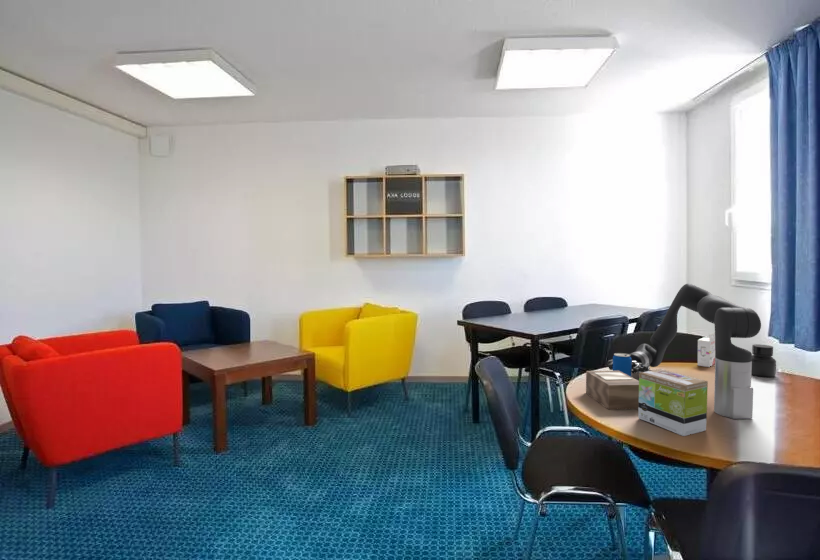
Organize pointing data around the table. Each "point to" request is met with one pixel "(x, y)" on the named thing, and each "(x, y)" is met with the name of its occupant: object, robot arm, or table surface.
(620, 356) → the beverage can
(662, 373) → the tea box
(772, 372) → the ink bottle
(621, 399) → the walnut box
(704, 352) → the ink cartridge box
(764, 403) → the table surface
